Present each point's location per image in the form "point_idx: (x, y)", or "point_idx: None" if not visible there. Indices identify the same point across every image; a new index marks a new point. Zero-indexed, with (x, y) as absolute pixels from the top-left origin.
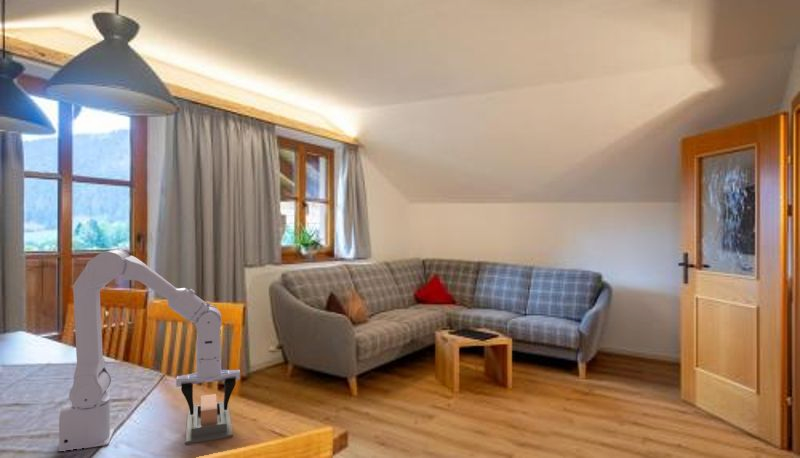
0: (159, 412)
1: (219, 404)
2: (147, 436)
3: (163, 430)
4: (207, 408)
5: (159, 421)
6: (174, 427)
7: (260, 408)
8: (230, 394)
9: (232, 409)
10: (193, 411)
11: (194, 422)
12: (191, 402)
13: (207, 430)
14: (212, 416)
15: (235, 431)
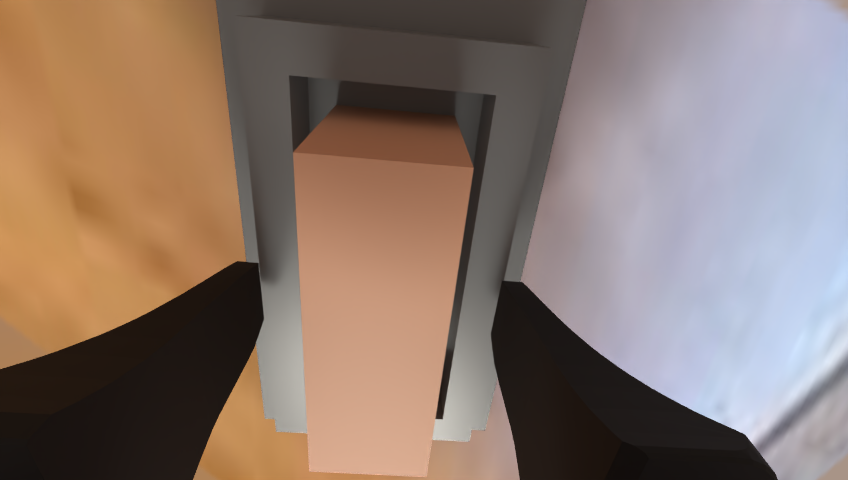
0: None
1: (305, 397)
2: (743, 243)
3: (642, 282)
4: (398, 206)
5: None
6: (579, 294)
7: (73, 341)
8: (107, 332)
9: (247, 385)
10: (501, 307)
11: (505, 175)
12: (551, 339)
13: (413, 32)
14: (357, 135)
15: (204, 58)
